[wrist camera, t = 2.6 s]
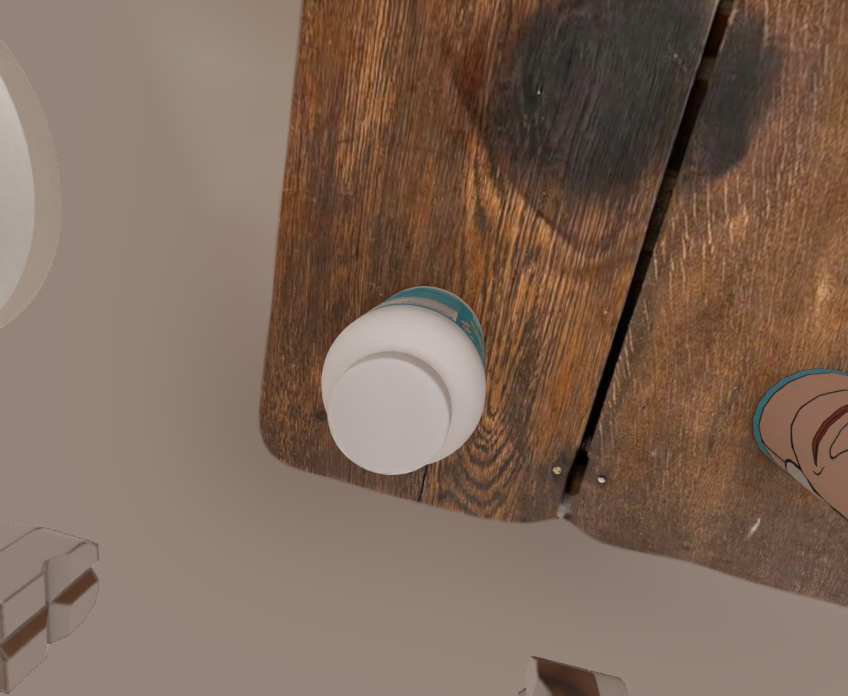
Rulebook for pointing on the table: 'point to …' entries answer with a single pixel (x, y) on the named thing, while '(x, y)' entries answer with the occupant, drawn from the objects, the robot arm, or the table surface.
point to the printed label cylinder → (809, 432)
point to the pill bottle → (406, 381)
